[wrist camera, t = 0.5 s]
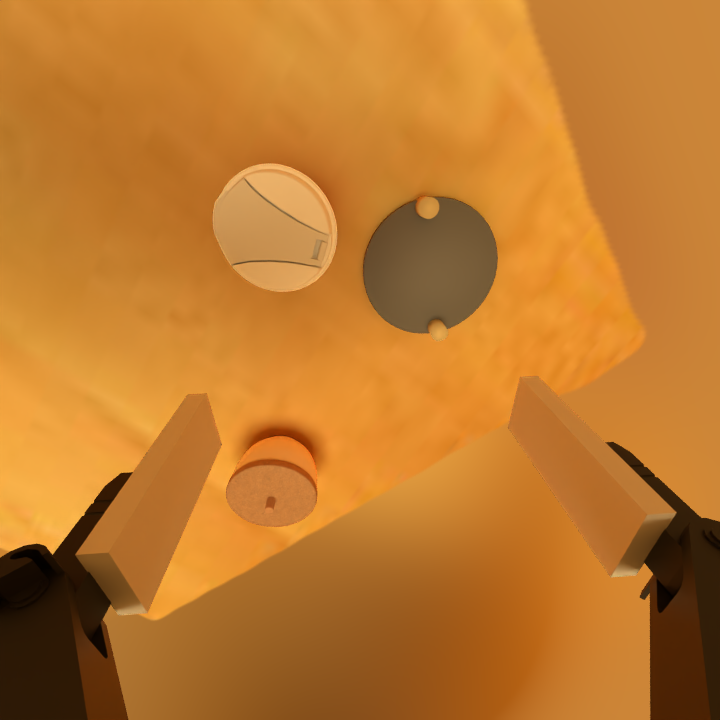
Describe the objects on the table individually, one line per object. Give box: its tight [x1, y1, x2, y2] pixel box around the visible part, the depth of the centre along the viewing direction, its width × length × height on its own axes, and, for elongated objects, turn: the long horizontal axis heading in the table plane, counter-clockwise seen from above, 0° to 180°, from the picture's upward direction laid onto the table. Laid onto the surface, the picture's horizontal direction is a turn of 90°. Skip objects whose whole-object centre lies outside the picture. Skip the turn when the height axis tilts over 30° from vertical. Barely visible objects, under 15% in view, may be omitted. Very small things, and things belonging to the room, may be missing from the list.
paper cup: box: [213, 163, 337, 292], centre depth 26 cm, size 8×8×14 cm
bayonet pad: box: [363, 196, 498, 341], centre depth 34 cm, size 14×14×3 cm
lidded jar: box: [226, 436, 317, 527], centre depth 42 cm, size 11×11×9 cm
